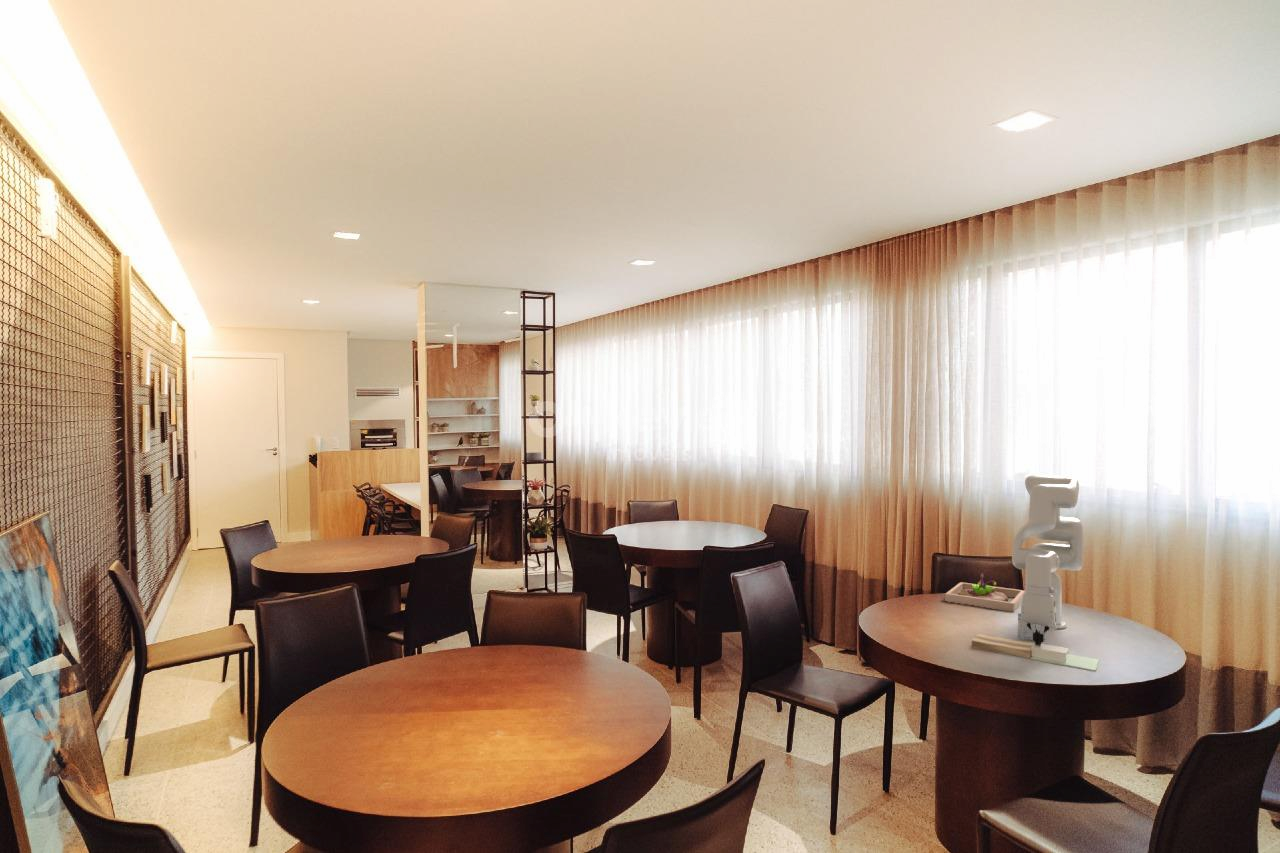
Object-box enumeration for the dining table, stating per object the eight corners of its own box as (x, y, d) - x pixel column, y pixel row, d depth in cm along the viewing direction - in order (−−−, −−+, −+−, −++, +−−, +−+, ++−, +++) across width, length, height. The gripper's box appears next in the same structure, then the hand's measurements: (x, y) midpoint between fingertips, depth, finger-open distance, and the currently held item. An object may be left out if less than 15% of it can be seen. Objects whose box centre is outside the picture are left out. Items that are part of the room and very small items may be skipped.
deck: (978, 640, 249) (978, 633, 249) (1034, 650, 238) (1034, 643, 238) (971, 647, 241) (971, 640, 241) (1029, 658, 230) (1029, 651, 230)
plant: (1007, 596, 311) (1007, 572, 311) (1008, 607, 293) (1008, 581, 293) (958, 592, 320) (958, 568, 320) (957, 602, 302) (957, 576, 302)
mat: (1036, 649, 238) (1036, 648, 238) (1099, 660, 227) (1099, 659, 227) (1031, 659, 229) (1031, 658, 229) (1095, 671, 218) (1095, 670, 218)
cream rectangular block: (1034, 651, 236) (1034, 642, 236) (1068, 657, 229) (1068, 648, 229) (1031, 656, 231) (1031, 647, 231) (1066, 662, 225) (1066, 653, 225)
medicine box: (1040, 636, 253) (1040, 613, 252) (1046, 640, 248) (1046, 616, 248) (1017, 636, 253) (1017, 613, 253) (1023, 640, 249) (1023, 616, 249)
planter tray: (960, 589, 323) (960, 582, 323) (1025, 598, 306) (1025, 590, 306) (945, 601, 302) (945, 593, 302) (1014, 612, 285) (1014, 603, 285)
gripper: (1065, 591, 231) (1065, 645, 231) (1015, 585, 240) (1015, 637, 240) (1062, 595, 225) (1062, 651, 225) (1011, 589, 234) (1011, 642, 234)
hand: (1038, 644), depth 233 cm, fingers closed
